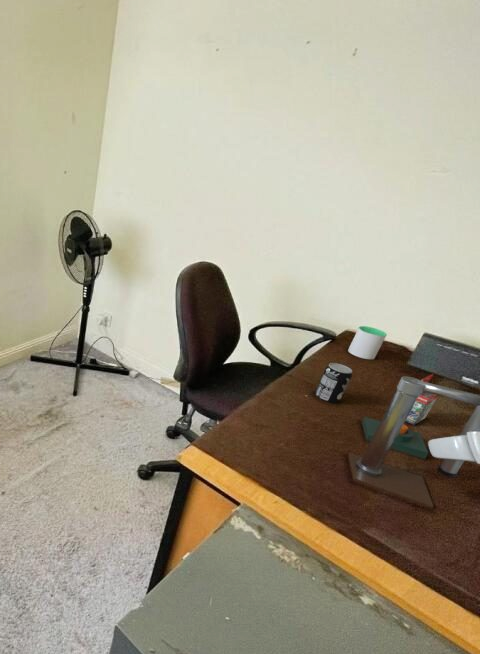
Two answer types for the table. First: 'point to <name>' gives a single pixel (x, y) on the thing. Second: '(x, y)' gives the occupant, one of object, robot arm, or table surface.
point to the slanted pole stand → (371, 464)
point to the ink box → (422, 405)
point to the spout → (416, 387)
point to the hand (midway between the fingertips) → (454, 453)
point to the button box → (398, 439)
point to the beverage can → (333, 382)
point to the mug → (367, 342)
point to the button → (403, 429)
